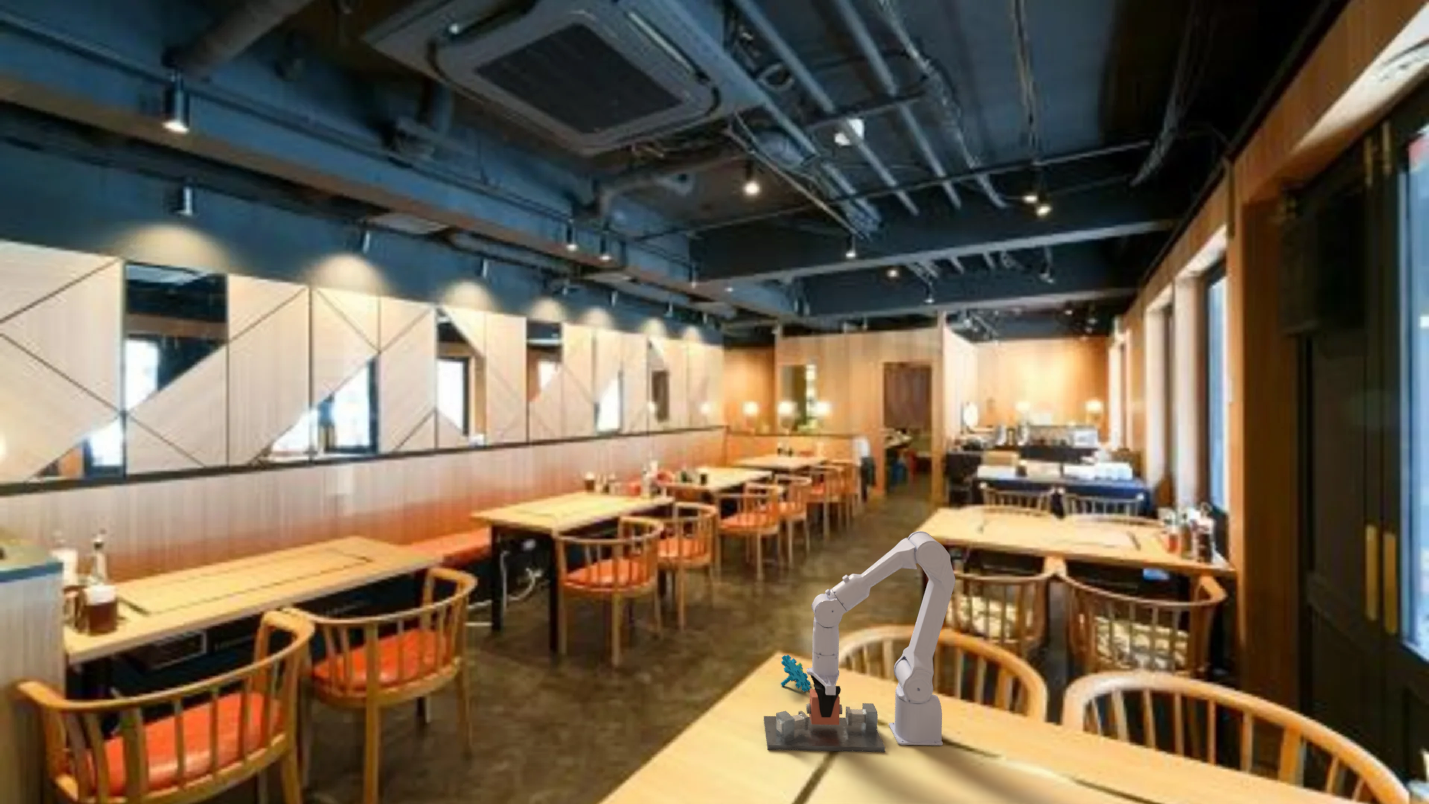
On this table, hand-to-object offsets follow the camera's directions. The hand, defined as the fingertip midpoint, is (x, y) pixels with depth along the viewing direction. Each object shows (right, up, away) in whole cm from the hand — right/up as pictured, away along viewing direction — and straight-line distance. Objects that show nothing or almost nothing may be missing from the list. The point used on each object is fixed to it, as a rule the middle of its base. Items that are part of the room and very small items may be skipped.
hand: (824, 711), depth 138 cm
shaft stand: (-1, -4, -2) cm, 5 cm away
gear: (-4, -4, +20) cm, 21 cm away
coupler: (0, -2, 0) cm, 2 cm away
